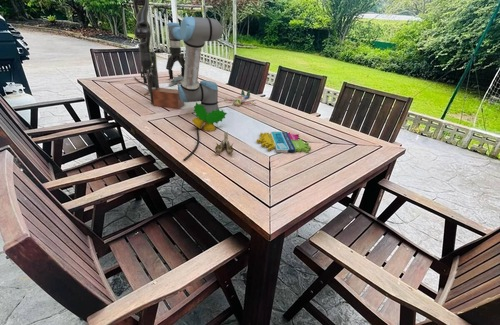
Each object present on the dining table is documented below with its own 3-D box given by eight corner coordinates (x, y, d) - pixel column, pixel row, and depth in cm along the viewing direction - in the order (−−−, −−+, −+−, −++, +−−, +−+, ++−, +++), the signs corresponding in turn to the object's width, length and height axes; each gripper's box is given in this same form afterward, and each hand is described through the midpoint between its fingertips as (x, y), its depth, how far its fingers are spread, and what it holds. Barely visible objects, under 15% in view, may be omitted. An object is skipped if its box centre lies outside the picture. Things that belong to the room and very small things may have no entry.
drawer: (144, 103, 198) (142, 90, 193) (150, 99, 206) (149, 87, 201) (174, 106, 194) (173, 94, 190) (179, 103, 202) (178, 91, 198)
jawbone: (234, 135, 144) (233, 125, 135) (233, 160, 138) (232, 151, 129) (217, 135, 144) (216, 125, 135) (216, 160, 138) (214, 150, 129)
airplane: (159, 78, 275) (158, 68, 270) (189, 77, 288) (188, 67, 283) (167, 88, 246) (166, 77, 241) (199, 86, 260) (199, 75, 254)
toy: (261, 91, 228) (254, 99, 202) (261, 99, 231) (253, 108, 205) (231, 87, 233) (220, 95, 207) (230, 95, 236) (219, 104, 210)
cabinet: (153, 105, 197) (152, 90, 191) (160, 102, 206) (159, 87, 200) (178, 109, 194) (177, 93, 188) (184, 105, 203) (183, 90, 197)
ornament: (218, 133, 171) (224, 110, 169) (221, 134, 163) (227, 111, 161) (186, 125, 162) (192, 101, 160) (189, 126, 155) (195, 101, 153)
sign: (313, 150, 142) (258, 149, 139) (312, 153, 143) (258, 152, 140) (301, 132, 164) (254, 130, 161) (301, 134, 165) (254, 133, 162)
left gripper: (146, 57, 193) (149, 79, 201) (135, 59, 181) (138, 83, 189) (155, 58, 192) (158, 80, 200) (145, 60, 180) (148, 84, 188)
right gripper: (182, 45, 197) (184, 74, 207) (158, 47, 177) (161, 79, 187) (190, 46, 194) (191, 76, 205) (167, 48, 174) (170, 81, 185)
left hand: (148, 82), depth 194 cm, fingers open, 8 cm apart
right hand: (177, 77), depth 196 cm, fingers open, 13 cm apart
